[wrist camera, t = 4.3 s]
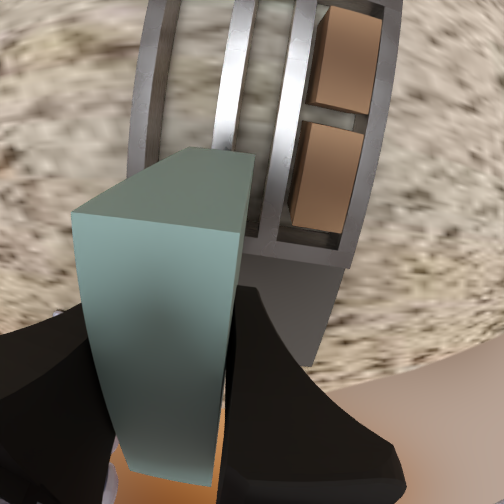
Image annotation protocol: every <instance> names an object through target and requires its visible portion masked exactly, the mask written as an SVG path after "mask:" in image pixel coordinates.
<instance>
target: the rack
mask: <svg viewBox="0 0 504 504" xmlns="http://www.w3.org/2000/svg"><path fill="white" fill-rule="evenodd" d="M258 3H259V0H235V2H234V7H233V12H232V18H231V23H230V29H229V34H228V40H227V46H226V52H225V58H224V64H223V70H222V77H221V83H220V90H219V97H218V104H217V111H216V118H215V125H214V133H213V140H212V148H211V149H217V150H226V151H234V152H235V147H236V140H237V133H238V126H239V119H240V112H241V106H242V99H243V93H244V86H245V80H246V74H247V67H248V61H249V55H250V49H251V43H252V37H253V31H254V26H255V20H256V14H257V9H258ZM317 3H319V4H323V5H327V6H335V7H339V8H343V9H347V10H351V11H354V12H358V13H361V14H365V15H368V16H371V17H374V18H377V19H380V20H382V25H381V34H380V42H379V49H378V57H377V64H376V70H375V77H374V83H373V89H372V95H371V101H370V107H369V112H368V115H367V114H356V116H355V121H354V127H353V132H356V133H360V134H363V135H364V138H363V143H362V148H361V153H360V158H359V162H358V167H357V171H356V176H355V180H354V185H353V189H352V193H351V197H350V201H349V206H348V210H347V214H346V218H345V222H344V225H343V229H342V233H335V232H330V234H328V233H322V232H316V231H310V230H304V229H297V228H291V227H285V226H279V223H280V218H281V213H282V207H283V202H284V197H285V191H286V186H287V180H288V175H289V169H290V164H291V158H292V153H293V147H294V141H295V136H296V130H297V124H298V118H299V113H300V107H301V101H302V95H303V89H304V83H305V77H306V71H307V64H308V58H309V52H310V46H311V39H312V33H313V26H314V20H315V13H316V7H317ZM180 4H181V0H149V2H148V7H147V11H146V16H145V21H144V26H143V32H142V37H141V43H140V49H139V55H138V61H137V68H136V75H135V82H134V90H133V99H132V108H131V118H130V130H129V143H128V159H127V178H129V177H131V176H133V175H135V174H137V173H138V172H140V171H142V170H144V169H146V168H148V167H150V166H151V165H153V164H155V163H157V162H158V160H159V148H160V137H161V127H162V118H163V109H164V101H165V93H166V85H167V78H168V71H169V64H170V58H171V52H172V46H173V40H174V35H175V29H176V24H177V19H178V14H179V9H180ZM402 5H403V0H295V3H294V9H293V15H292V21H291V28H290V34H289V40H288V46H287V52H286V58H285V64H284V71H283V77H282V83H281V89H280V95H279V101H278V107H277V113H276V120H275V126H274V132H273V138H272V144H271V150H270V156H269V162H268V168H267V174H266V180H265V186H264V193H263V199H262V205H261V211H260V217H259V222H253V221H246V227H245V234H244V242H243V249H242V253H246V254H253V255H260V256H266V257H273V258H280V259H286V260H293V261H300V262H307V263H313V264H320V265H327V266H334V267H341V268H347V269H350V266H351V263H352V259H353V256H354V253H355V249H356V246H357V242H358V239H359V235H360V232H361V228H362V225H363V221H364V217H365V214H366V210H367V206H368V202H369V198H370V194H371V190H372V186H373V182H374V178H375V173H376V169H377V165H378V160H379V156H380V151H381V146H382V142H383V137H384V132H385V127H386V122H387V116H388V111H389V105H390V99H391V94H392V87H393V81H394V75H395V68H396V61H397V53H398V45H399V36H400V27H401V17H402Z"/></svg>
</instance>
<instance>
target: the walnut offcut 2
mask: <svg viewBox="0 0 504 504" xmlns="http://www.w3.org/2000/svg"><path fill="white" fill-rule="evenodd" d="M363 138H364V135H363V134H360V133H356V132H352V131H348V130H345V129H340V128H336V127H331V126H327V125H322V124H317V123H313V122H307V121H302V125H301V130H300V136H299V142H298V147H297V153H296V158H295V164H294V169H293V175H292V180H291V186H290V191H289V196H288V202H287V204H288V208H289V212H290V216H291V221H292V225H293V226H299V227H306V228H312V229H318V230H324V231H329V232H335V233H342V229H343V225H344V222H345V218H346V214H347V210H348V206H349V201H350V197H351V193H352V189H353V185H354V180H355V176H356V171H357V167H358V162H359V158H360V153H361V148H362V143H363Z"/></svg>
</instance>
